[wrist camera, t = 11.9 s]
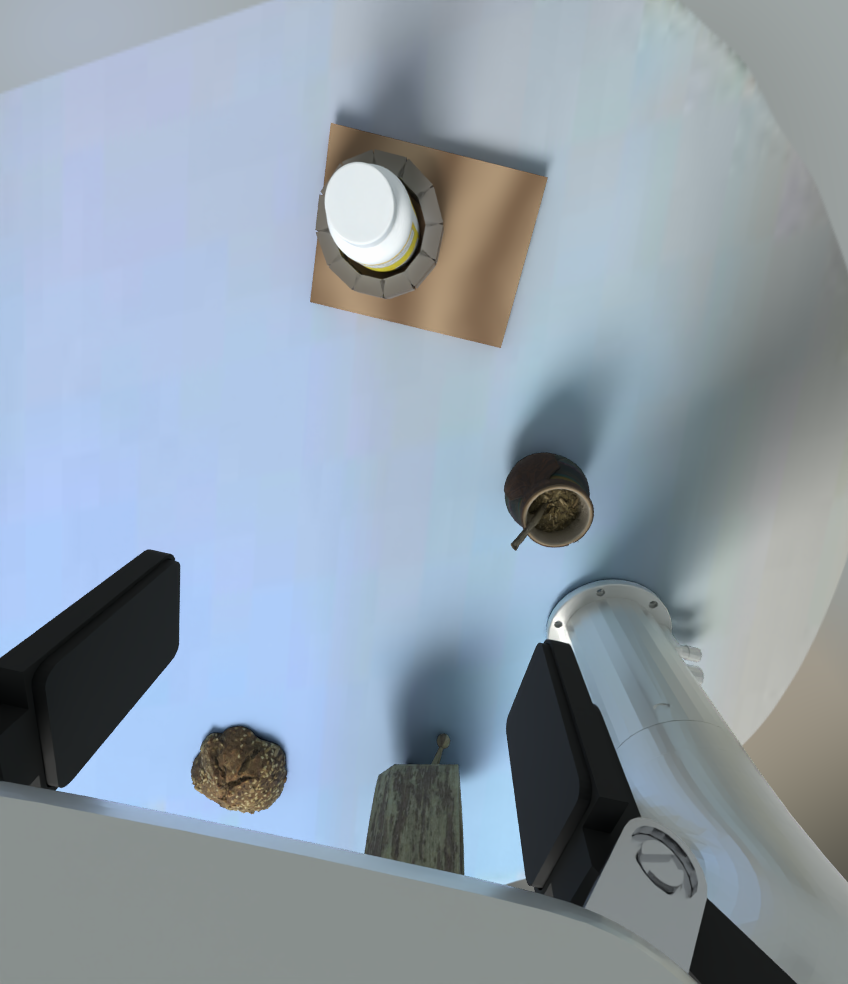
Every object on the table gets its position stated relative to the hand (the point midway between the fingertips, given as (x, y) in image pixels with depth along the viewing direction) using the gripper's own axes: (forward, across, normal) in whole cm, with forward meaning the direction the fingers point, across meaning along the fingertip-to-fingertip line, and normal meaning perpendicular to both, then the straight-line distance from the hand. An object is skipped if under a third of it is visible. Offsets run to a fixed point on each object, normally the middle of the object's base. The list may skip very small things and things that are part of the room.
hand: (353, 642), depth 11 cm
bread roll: (+31, +13, +51) cm, 61 cm away
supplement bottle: (+29, +6, -13) cm, 33 cm away
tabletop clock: (+31, -10, +44) cm, 54 cm away
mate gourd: (+31, -12, +4) cm, 33 cm away
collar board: (+30, +3, -13) cm, 33 cm away
